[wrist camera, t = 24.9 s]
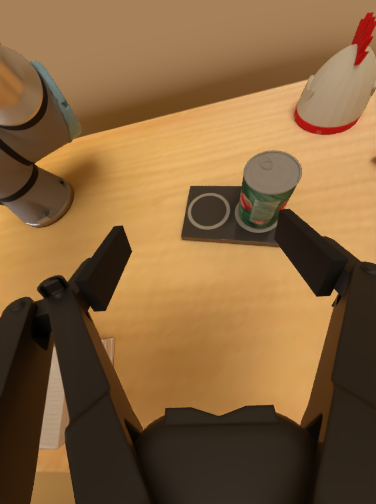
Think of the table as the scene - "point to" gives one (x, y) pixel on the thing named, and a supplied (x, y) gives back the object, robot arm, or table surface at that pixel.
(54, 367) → the beige rectangular block
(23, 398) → the robot arm
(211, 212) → the hob
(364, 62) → the kitchen timer
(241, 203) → the canned tomato
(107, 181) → the table surface
